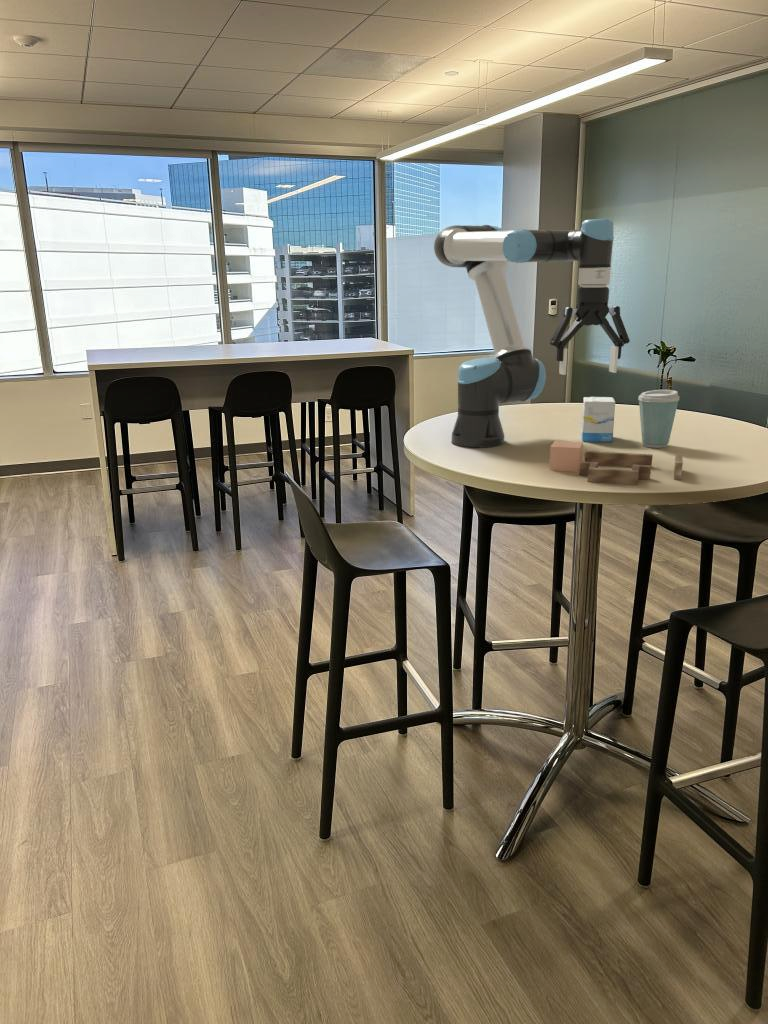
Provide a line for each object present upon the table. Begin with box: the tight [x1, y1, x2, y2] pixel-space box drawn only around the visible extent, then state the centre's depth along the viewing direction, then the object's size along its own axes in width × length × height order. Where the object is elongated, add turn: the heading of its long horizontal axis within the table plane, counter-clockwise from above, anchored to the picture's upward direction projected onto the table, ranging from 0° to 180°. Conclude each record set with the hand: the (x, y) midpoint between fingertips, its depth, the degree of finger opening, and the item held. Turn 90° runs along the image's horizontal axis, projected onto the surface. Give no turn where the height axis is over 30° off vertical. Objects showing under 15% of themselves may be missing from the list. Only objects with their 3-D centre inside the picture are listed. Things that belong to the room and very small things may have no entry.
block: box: [549, 440, 584, 473], centre depth 185 cm, size 7×7×6 cm
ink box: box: [580, 396, 616, 443], centre depth 215 cm, size 8×8×12 cm
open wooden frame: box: [578, 450, 684, 486], centre depth 178 cm, size 23×18×4 cm
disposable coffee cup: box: [637, 389, 680, 449], centre depth 205 cm, size 11×11×15 cm
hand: (587, 373), depth 191 cm, fingers open, 13 cm apart
